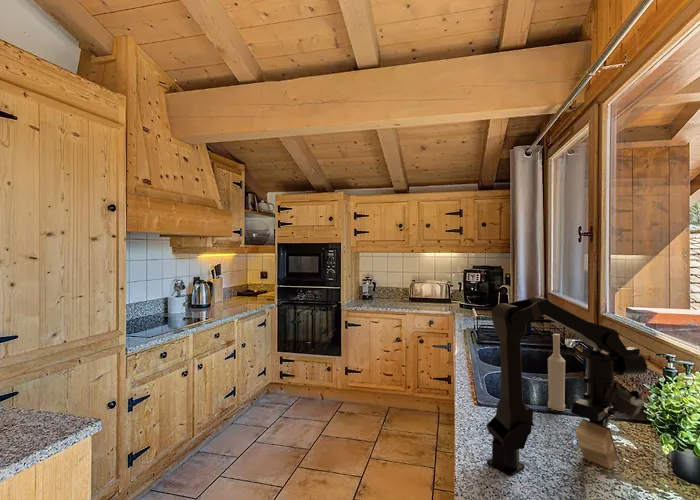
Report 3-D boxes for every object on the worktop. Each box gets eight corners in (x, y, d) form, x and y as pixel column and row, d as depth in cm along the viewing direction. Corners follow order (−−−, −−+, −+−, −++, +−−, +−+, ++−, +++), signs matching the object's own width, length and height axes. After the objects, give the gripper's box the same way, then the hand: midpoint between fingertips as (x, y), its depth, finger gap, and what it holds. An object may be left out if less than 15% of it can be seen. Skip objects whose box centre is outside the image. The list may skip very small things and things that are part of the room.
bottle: (544, 406, 125) (544, 333, 126) (555, 404, 127) (555, 332, 127) (557, 413, 121) (557, 336, 121) (569, 410, 122) (569, 335, 122)
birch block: (610, 469, 90) (602, 441, 87) (583, 457, 95) (575, 431, 93) (617, 455, 92) (609, 428, 90) (590, 444, 97) (582, 418, 95)
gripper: (622, 393, 82) (622, 463, 82) (653, 377, 92) (653, 440, 92) (569, 378, 91) (569, 442, 91) (603, 365, 101) (602, 422, 101)
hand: (600, 436), depth 94 cm, fingers closed
